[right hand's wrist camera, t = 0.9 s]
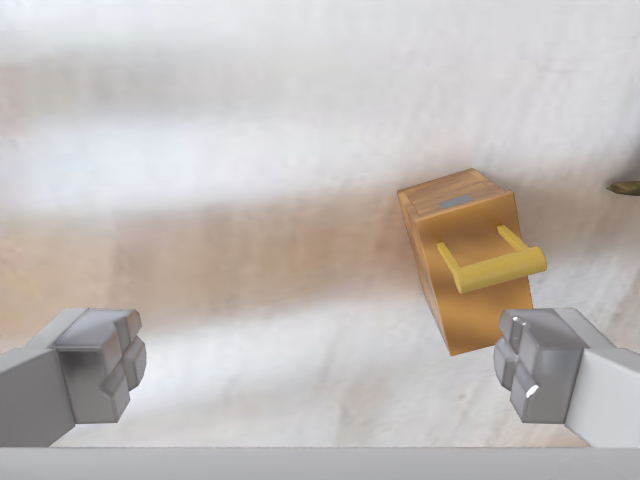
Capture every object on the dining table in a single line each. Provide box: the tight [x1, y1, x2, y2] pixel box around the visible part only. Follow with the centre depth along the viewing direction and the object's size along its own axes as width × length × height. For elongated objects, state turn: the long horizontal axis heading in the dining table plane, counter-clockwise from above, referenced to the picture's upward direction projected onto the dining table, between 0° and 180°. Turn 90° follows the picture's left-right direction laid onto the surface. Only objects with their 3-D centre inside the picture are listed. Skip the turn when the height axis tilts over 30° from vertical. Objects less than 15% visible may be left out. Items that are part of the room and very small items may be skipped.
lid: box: [414, 190, 547, 356], centre depth 41 cm, size 16×9×9 cm, turn 18°
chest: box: [397, 168, 504, 349], centre depth 50 cm, size 15×9×11 cm, turn 18°
